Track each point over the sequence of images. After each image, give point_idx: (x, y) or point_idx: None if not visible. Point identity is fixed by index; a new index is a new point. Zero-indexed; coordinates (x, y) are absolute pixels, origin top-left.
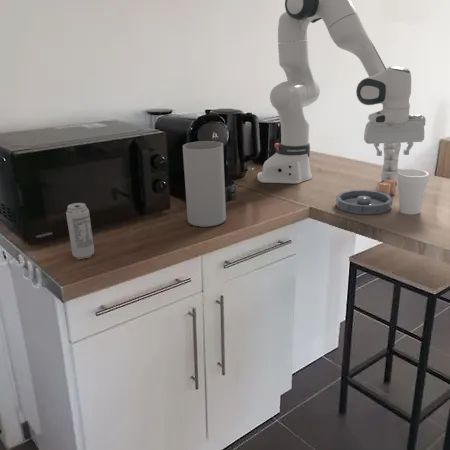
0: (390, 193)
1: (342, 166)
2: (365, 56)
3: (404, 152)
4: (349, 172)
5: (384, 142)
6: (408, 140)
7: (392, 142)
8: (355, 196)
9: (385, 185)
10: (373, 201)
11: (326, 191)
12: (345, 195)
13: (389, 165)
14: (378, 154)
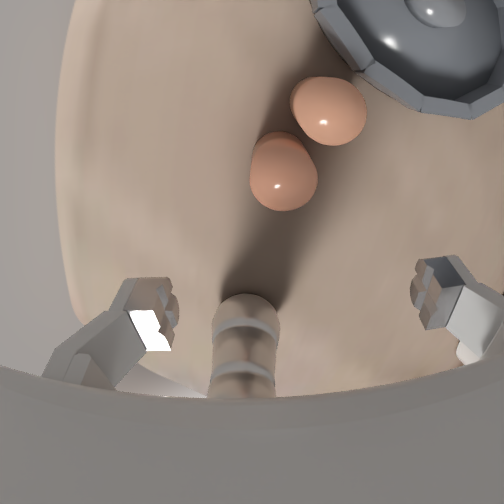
0: (278, 132)
1: None
2: None
3: (166, 309)
4: (348, 379)
5: (497, 362)
6: (67, 406)
7: (371, 392)
8: (446, 96)
9: (334, 78)
10: (386, 11)
11: (494, 207)
12: (489, 87)
13: (253, 351)
14: (455, 259)
